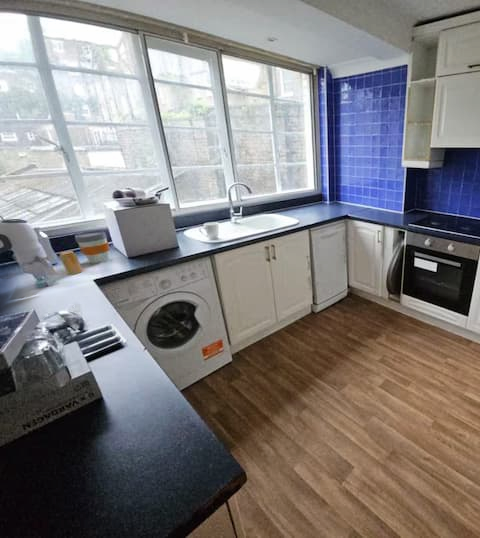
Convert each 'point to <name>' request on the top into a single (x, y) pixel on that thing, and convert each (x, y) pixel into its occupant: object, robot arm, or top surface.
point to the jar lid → (42, 283)
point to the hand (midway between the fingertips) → (45, 283)
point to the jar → (70, 262)
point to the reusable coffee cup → (94, 246)
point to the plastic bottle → (46, 246)
